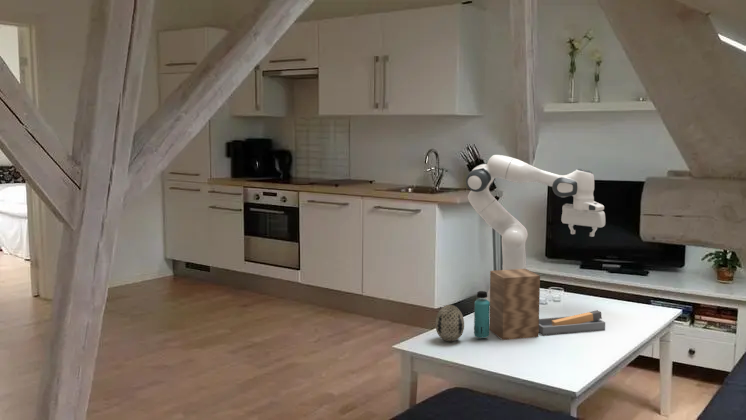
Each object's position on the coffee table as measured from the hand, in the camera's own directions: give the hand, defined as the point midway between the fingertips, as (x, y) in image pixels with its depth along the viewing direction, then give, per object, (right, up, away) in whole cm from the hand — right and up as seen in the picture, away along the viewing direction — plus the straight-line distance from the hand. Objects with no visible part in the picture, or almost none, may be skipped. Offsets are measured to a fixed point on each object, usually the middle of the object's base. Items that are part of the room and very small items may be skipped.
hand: (582, 235), depth 321 cm
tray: (-11, -40, -16) cm, 45 cm away
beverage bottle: (-50, -42, -29) cm, 72 cm away
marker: (-7, -37, -16) cm, 41 cm away
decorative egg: (-64, -42, -31) cm, 83 cm away
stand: (-36, -41, -22) cm, 59 cm away
